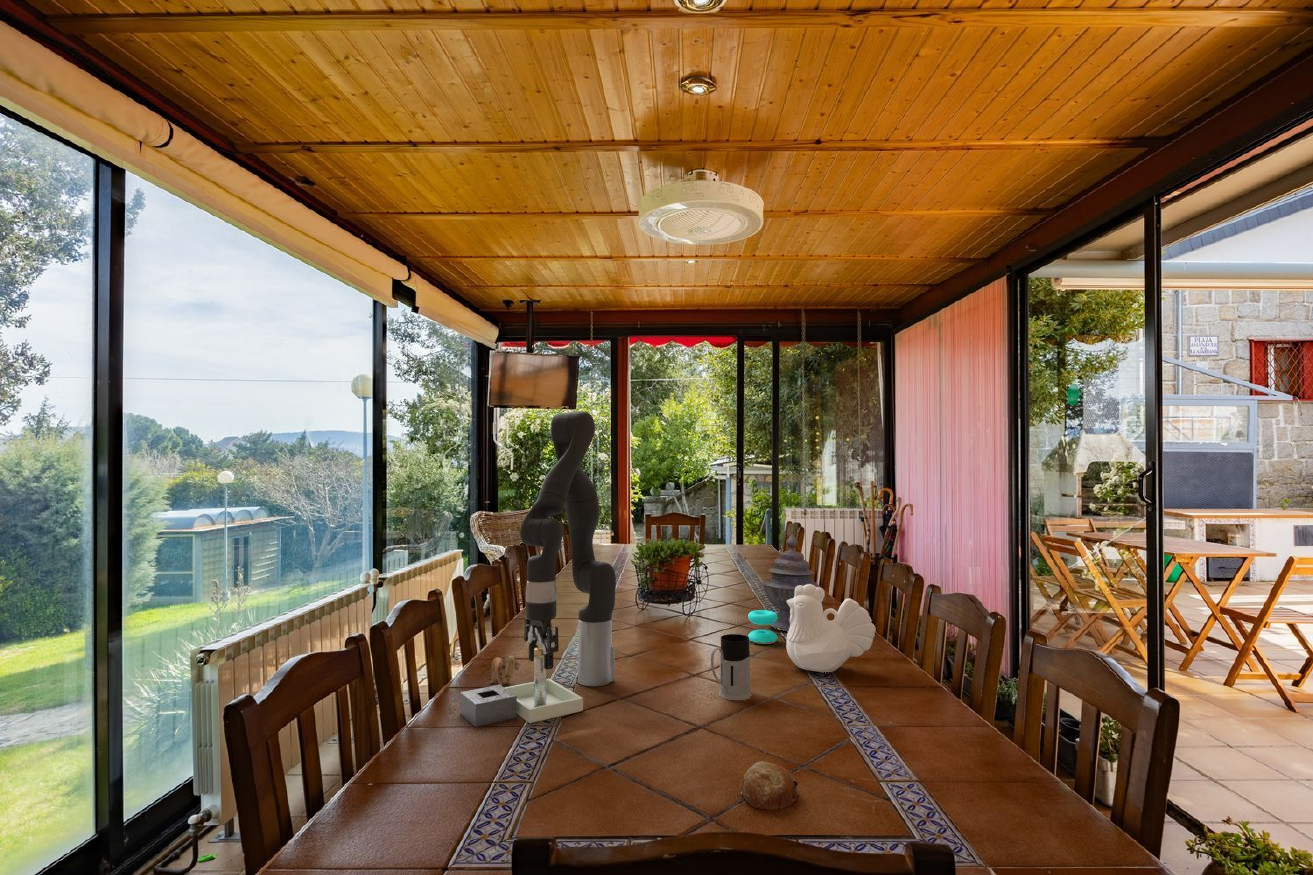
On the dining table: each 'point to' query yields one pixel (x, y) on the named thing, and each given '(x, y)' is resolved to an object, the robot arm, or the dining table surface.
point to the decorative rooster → (825, 631)
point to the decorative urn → (787, 581)
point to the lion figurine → (504, 669)
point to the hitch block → (488, 705)
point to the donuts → (762, 619)
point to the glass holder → (733, 667)
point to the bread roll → (769, 786)
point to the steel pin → (539, 678)
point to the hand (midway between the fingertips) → (540, 664)
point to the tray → (556, 701)
